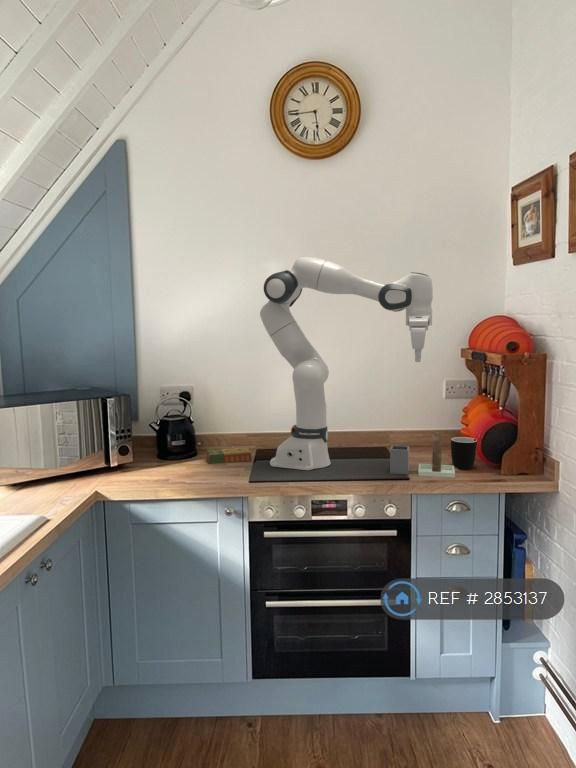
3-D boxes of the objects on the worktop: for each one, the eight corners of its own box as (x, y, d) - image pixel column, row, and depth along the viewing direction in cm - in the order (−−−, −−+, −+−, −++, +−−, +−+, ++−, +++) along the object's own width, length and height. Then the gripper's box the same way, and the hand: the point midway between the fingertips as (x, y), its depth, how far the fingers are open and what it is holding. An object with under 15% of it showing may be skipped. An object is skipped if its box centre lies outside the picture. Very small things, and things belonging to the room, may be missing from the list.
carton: (251, 462, 228) (251, 451, 227) (209, 465, 224) (208, 454, 223) (247, 456, 236) (247, 446, 235) (206, 459, 232) (206, 449, 231)
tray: (418, 477, 204) (418, 471, 204) (418, 469, 214) (418, 463, 214) (454, 479, 202) (455, 473, 201) (453, 471, 211) (453, 465, 211)
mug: (480, 470, 213) (481, 442, 211) (455, 470, 212) (456, 442, 211) (466, 461, 225) (467, 434, 223) (443, 462, 224) (444, 435, 222)
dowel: (431, 473, 207) (432, 433, 205) (431, 471, 209) (432, 431, 208) (440, 474, 206) (441, 433, 204) (440, 471, 209) (441, 432, 207)
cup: (389, 475, 207) (390, 449, 206) (391, 470, 213) (391, 445, 212) (408, 476, 206) (408, 450, 205) (408, 471, 212) (409, 446, 211)
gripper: (410, 319, 216) (409, 358, 218) (408, 321, 196) (407, 363, 198) (428, 319, 215) (427, 358, 216) (428, 321, 195) (427, 363, 197)
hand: (418, 360), depth 207 cm, fingers open, 8 cm apart
